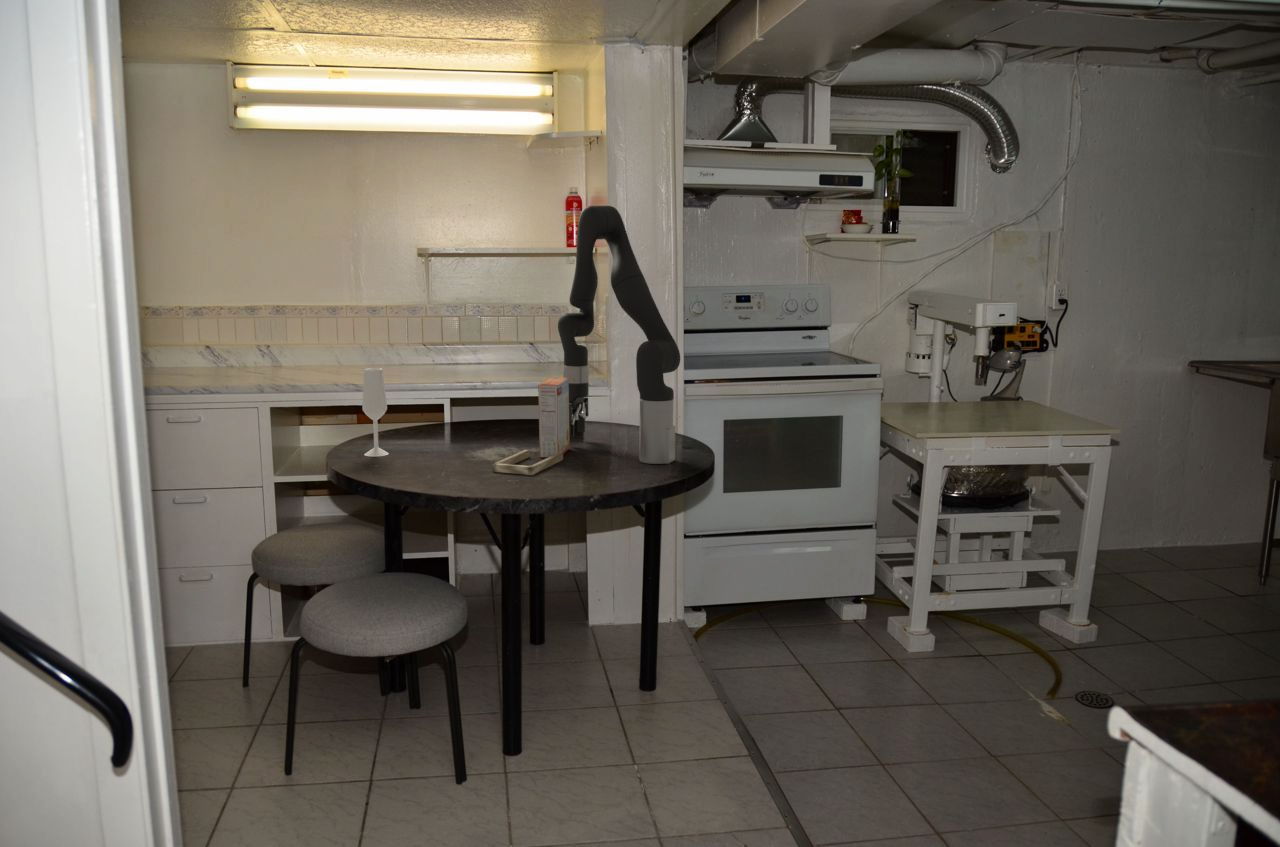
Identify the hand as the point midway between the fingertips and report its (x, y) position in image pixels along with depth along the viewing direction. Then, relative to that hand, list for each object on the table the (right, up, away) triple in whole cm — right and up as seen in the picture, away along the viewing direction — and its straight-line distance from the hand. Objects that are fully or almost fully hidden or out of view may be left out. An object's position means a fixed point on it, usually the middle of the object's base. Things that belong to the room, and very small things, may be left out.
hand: (575, 434), depth 294 cm
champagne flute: (-55, -6, -18) cm, 58 cm away
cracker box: (-5, -5, -14) cm, 16 cm away
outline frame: (-11, -8, -30) cm, 33 cm away
